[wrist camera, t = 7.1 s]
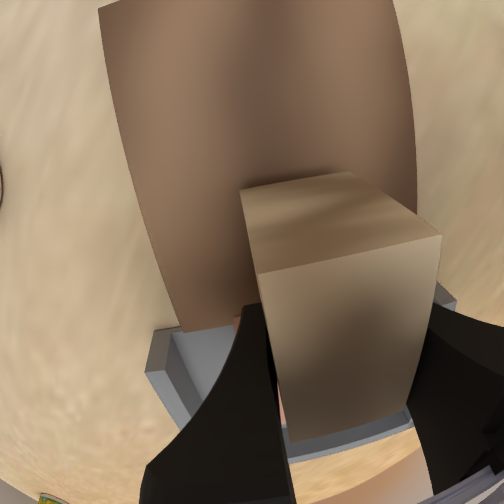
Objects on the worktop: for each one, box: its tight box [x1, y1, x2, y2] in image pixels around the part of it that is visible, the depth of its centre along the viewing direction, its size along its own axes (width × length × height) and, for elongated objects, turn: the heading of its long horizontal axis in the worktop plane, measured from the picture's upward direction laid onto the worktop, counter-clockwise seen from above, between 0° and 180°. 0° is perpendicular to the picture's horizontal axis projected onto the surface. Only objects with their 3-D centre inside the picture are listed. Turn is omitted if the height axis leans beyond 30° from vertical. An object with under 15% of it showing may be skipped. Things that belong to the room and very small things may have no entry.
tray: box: [145, 281, 457, 464], centre depth 17 cm, size 15×11×3 cm
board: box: [98, 0, 417, 333], centre depth 11 cm, size 11×14×2 cm
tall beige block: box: [239, 171, 443, 443], centre depth 9 cm, size 4×6×5 cm, turn 10°
